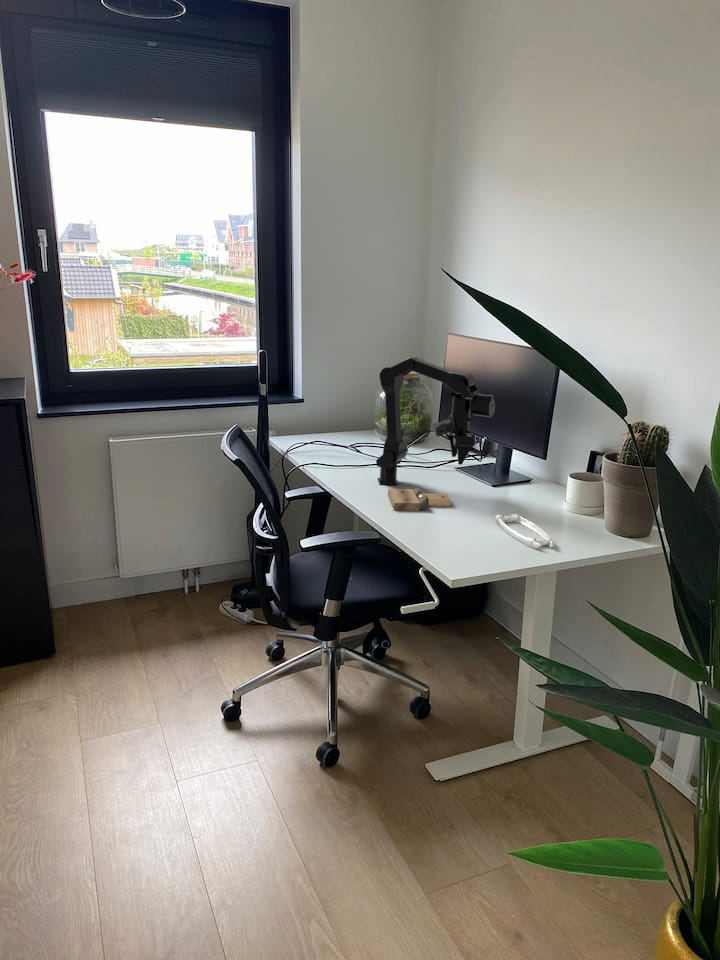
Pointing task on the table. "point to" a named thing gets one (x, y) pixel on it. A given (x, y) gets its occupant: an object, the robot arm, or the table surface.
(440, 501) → the tan knobbed block
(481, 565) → the table surface
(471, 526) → the table surface
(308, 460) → the table surface
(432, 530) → the table surface
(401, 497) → the tan flat piece
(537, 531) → the door handle
